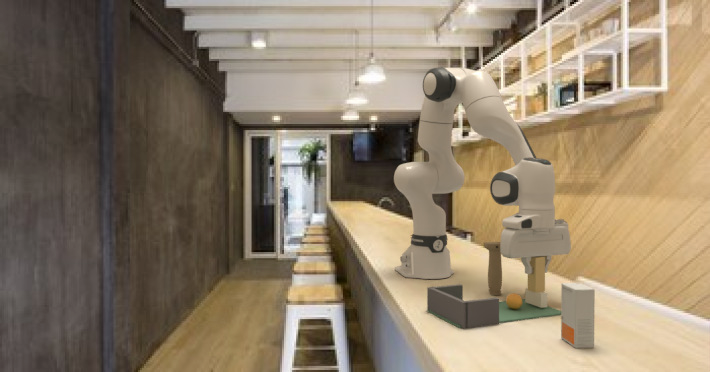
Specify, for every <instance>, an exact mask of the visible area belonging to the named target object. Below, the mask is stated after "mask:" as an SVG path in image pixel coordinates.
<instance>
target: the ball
mask: <svg viewBox="0 0 710 372" xmlns="http://www.w3.org/2000/svg"><path fill="white" fill-rule="evenodd" d="M505 298H506V299H505V301H506V304H507V306H508V307H509V308H511V309H518V308H520V307H521V305H522V299H523V298H522V297H521V295H520V294H517V293H512V292H511V293H509V294H508V295H507V296H506V297H505Z"/></svg>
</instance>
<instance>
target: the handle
mask: <svg viewBox="0 0 710 372" xmlns="http://www.w3.org/2000/svg"><path fill="white" fill-rule="evenodd" d="M500 243H501V241H484V242H483V248H484V249H486V250H488V267H487V284H488V293H489V294H490V295H491V296H495V297H497V296H500V295H502V290H501V289H502V285H503V266H502V254H501V251H500Z"/></svg>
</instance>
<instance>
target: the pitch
mask: <svg viewBox="0 0 710 372" xmlns="http://www.w3.org/2000/svg"><path fill="white" fill-rule="evenodd" d="M426 310H427V309H426ZM427 313H429V314H431V315H433V316H434V317H437V318H439V319H440V320H441V319H442V320H443V321H444V322H447V323H448V324H451V325H452V326H455V327H456V328H458V329H462V328H461V326H460V325H458V324H456V323H454V322H452V321H450V320H448V319H446V318H444V317H442V316H440V315H438V314H436V313H434V312H432V311H430V310H427ZM555 316H556V317H557V316H561V310H560V309H557V308H554V307H551V306H549V305H547V307H543V308H541V307H538V306H535V305H532V304H529V303H526V302H525V298H522V305H521V307H520V308H518V309H511V308H509V307H508V306H507V304H506V300H504V301H503V300H502V301H499V324H503V323H511V322H518V320H519V321H525V319H527V320H533V318H534V319H540V318H539V317H542V318H548V317H555Z"/></svg>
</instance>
